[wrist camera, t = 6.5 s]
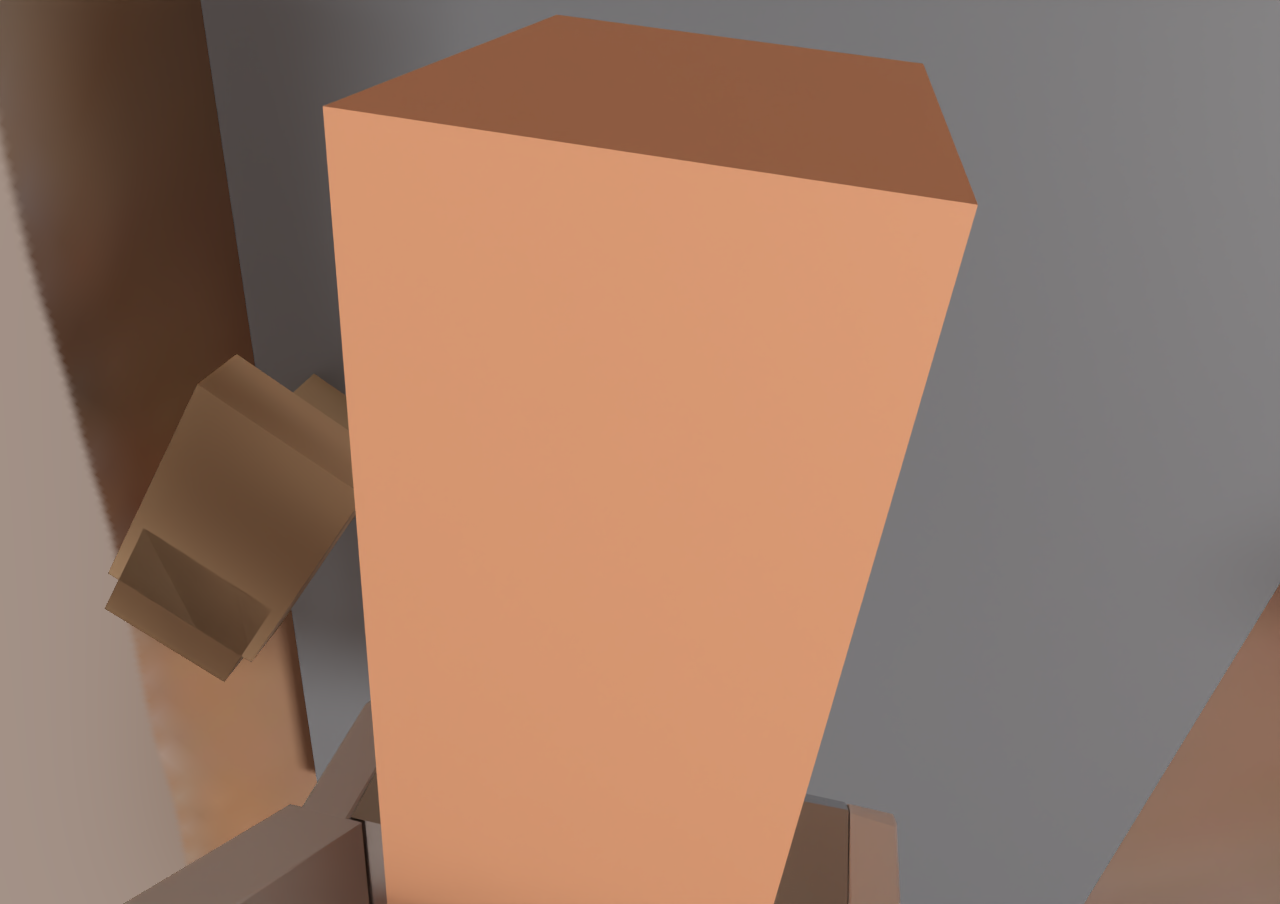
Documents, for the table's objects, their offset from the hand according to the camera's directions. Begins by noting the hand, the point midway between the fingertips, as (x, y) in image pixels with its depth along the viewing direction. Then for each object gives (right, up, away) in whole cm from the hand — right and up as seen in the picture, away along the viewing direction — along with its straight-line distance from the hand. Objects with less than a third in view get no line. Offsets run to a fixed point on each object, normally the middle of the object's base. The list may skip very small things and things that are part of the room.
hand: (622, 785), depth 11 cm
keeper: (-5, +6, +10) cm, 12 cm away
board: (+2, +2, +10) cm, 11 cm away
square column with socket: (0, +1, +1) cm, 1 cm away
